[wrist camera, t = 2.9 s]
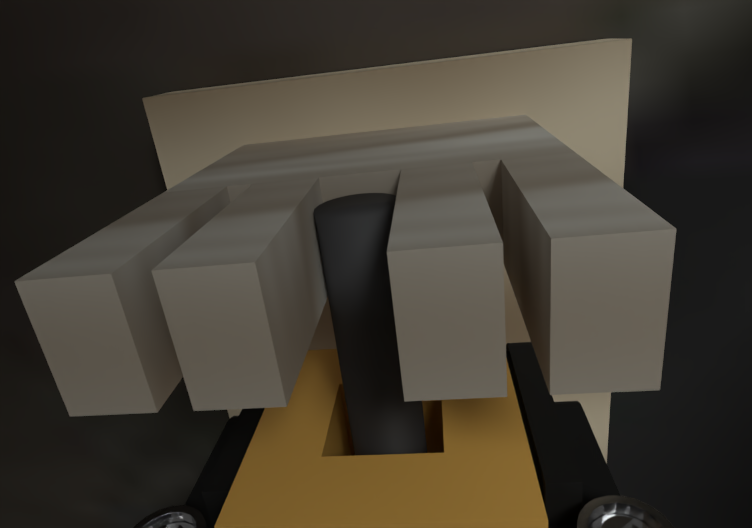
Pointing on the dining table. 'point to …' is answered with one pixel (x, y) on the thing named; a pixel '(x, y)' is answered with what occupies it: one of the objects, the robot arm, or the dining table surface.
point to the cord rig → (374, 246)
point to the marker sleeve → (384, 465)
